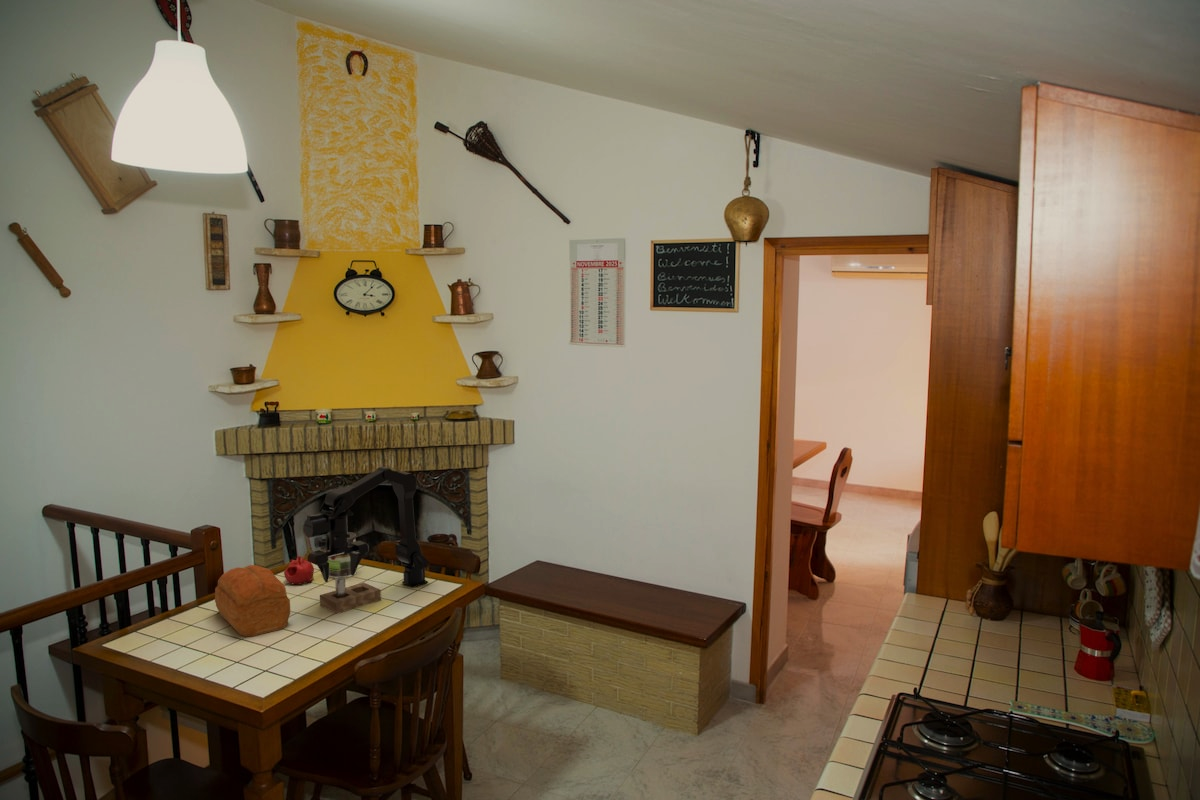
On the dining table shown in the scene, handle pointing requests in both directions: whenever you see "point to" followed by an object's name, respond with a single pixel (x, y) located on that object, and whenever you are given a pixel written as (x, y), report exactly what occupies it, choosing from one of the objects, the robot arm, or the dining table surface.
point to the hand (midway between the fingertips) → (339, 578)
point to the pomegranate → (299, 571)
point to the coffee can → (341, 562)
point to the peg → (340, 587)
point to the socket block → (350, 598)
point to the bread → (252, 600)
